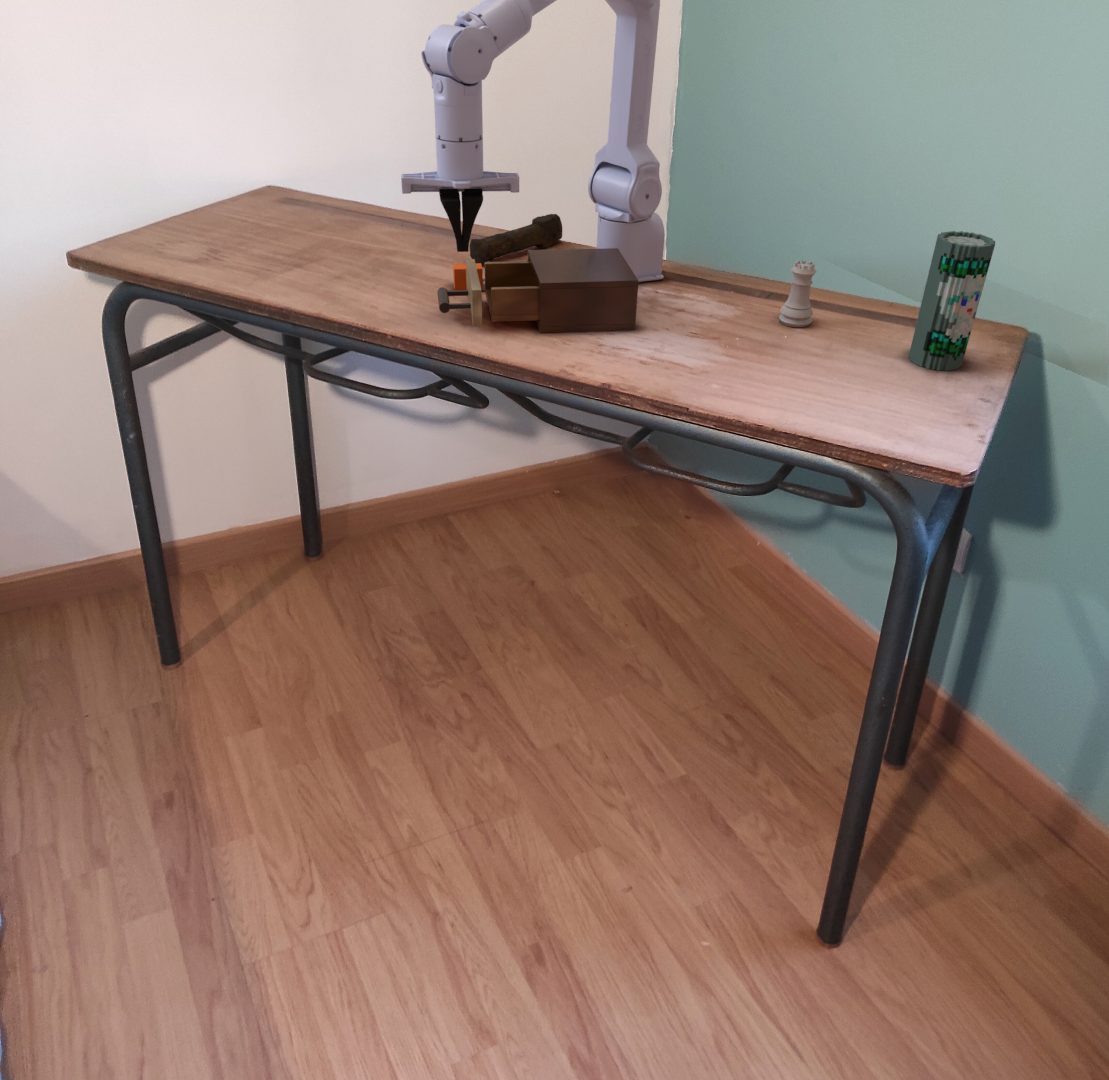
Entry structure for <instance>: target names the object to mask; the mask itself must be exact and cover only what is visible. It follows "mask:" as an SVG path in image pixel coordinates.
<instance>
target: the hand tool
mask: <svg viewBox="0 0 1109 1080" xmlns="http://www.w3.org/2000/svg"><path fill="white" fill-rule="evenodd" d="M562 238H563V223H562V219H561V217H560V215H558V214H557V213H549V214H545V215H541V216H535V217H534V218H532V220H531V224H530V223H529V224H528V225H524V226H522V227H518V228H515V229H512V230H508V231H505V232H500V233H496V234H492V235H489V236H485V237H482V238H470V240H469V256H470V259H475V263H481V265H482V266H483V265H485V262H495V259H498V258H501V257H505V256H507V255H511V254H515V253H517V252H521V251H524V250H527V249H530V248H533V247H535V248H538V249H545V248H548V247H551V246H552V245H555V244H556V243H557V242H559V241H560V240H561V239H562Z"/></svg>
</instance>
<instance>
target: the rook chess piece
mask: <svg viewBox="0 0 1109 1080" xmlns="http://www.w3.org/2000/svg"><path fill="white" fill-rule="evenodd" d="M815 265H816V263H814V262H813V261H811V260H808V262H807V263H806V259H801V260H796V261H795V262H794V265H793V266H792V267H791V268H790V271H791V272H792V274H793V277H792V278H791V280H790V283H791V288H790V291H789V294H788V297H787V299H786V300H785V302H784V304H783V305H782V306H781V307H780V310H779V311H780V315H778V319H779V321H780V323H781V324H783V325H785V326H787V327H792V328H803V327H804V328H805V327H807V326H809V325H810V324H811V323H812V322H813V318H812V316H813V315H814V312H813V311H814V310H813V308H812V304H811V302H810V297H811V294H810V293H811V286H812V285H813V277H814V276H815V274H816V273H817V270H816V268H815Z"/></svg>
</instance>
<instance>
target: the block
mask: <svg viewBox="0 0 1109 1080" xmlns="http://www.w3.org/2000/svg"><path fill="white" fill-rule="evenodd" d="M475 264H476V268H477V272H478V277H479V281H480V286H481V290H482V291H484V292H485V277H484V278H483V276H484V275H483V274H484V273H483V269H484V268H483V265H481V263H475ZM452 269H453V287H454V290H467V285H466V263H453V264H452Z"/></svg>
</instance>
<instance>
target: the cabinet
mask: <svg viewBox="0 0 1109 1080" xmlns="http://www.w3.org/2000/svg"><path fill="white" fill-rule="evenodd" d="M527 261H530V263H531V265H532V268H533V270H534V273H535V276H536V278H537V281H538V284H539V286H540V291H539V320H535V324H536V326H537V329H538V331H539V334H544V333H548V334H549V333H576V332H578V333H579V332H607V331H609V332H610V331H612V332H613V331H635V330H636V322H637V310H638V309H637V308H638V296H639V295H638V293H639V283H640V282H639V281H638V279H637V277H636V276H635V274H634V273H633V271H632V270H631V268H630V267H629V265H628V263H627V262H626V260H625V259H624V257H623V256H622V254H621V252H620V251H619V249H618V248H607V249H597V248H565V249H564V248H563V249H562V248H561V249H560V248H559V249H528V250H527Z"/></svg>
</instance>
